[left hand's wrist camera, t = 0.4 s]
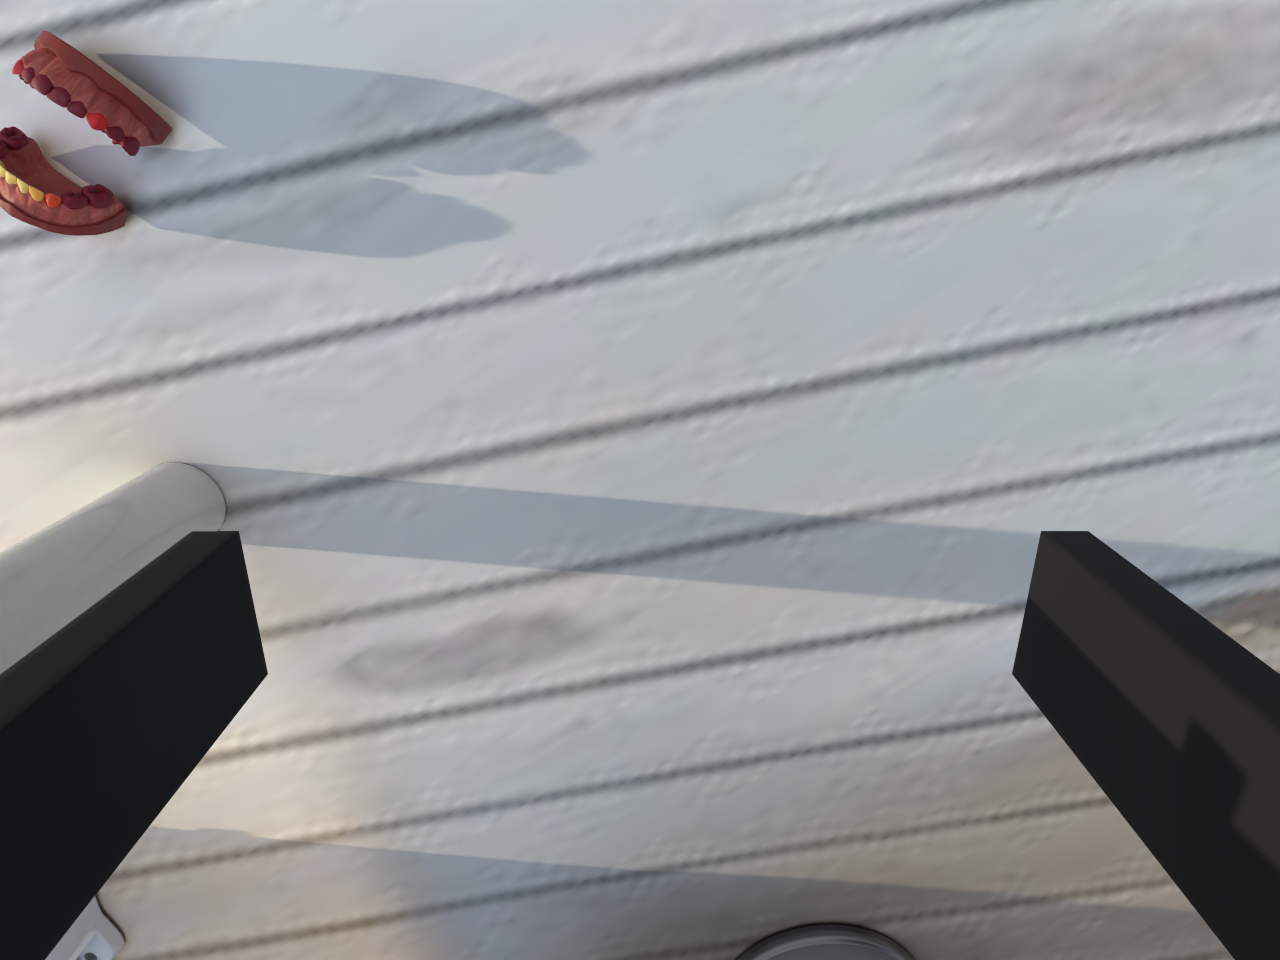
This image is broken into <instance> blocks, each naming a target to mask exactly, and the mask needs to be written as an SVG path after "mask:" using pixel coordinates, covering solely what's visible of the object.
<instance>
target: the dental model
mask: <svg viewBox="0 0 1280 960" xmlns="http://www.w3.org/2000/svg"><path fill="white" fill-rule="evenodd" d="M34 46H35V50H32V51H30V52H28V53H27V54H26V55H25V56H23V57H21V59H20V60H18V61H17V62H16V64H15V65H14V68H13V71H12V73H13V74H19V77H20V79H21V80H24V82H25V83H26V84H30V86H31V87H32V88H34V89H36V90H37V91H38V92H40V93H41V94H43V95H47V94H48V95H47V98H49V99H50V100H52V101H53V102H55V103H56V104H58V105H60V106H62V107H67V110H68V111H69V112H71V113H72V114H74V115H76V116H78V117H80V118H84V117H85V116H86V119H87V121H88V123H89V125H90V126H91V128H93V129H95V130H101V131H102V132H104V133H106V134H107V135H108V137H109V138H111V139H112V143H113V144H119V145H121V147H122V148H123V149H124V150H125V151H126V152H127V153H128V154H129V155H131V156H134V155H136V154H137V152H138V150H139V146H149V145H160V144H162V142H163V141H164V140H165V138H166V137H167V136H168V135H169V133H170V132H171V131H172V128H171V127H170V126H169V125H168V124H167V123H166V122H165V121H164V120H163V119H162V118H161V117H160V116H159V115H158V114H157V113H156V112H154V111H153V110H152V109H151V108H150V107H149V106H148V105H147V104H145V103H144V102H143V101H142V100H141V99H140V98H139V97H137V96H136V95H135V94H134V93H132V92H131V91H130V90H129V89H128V88H126V87H125V86H124V85H123V84H121V83H120V82H119V81H118V80H116V79H115V78H114V77H112V76H111V75H110V74H108V73H107V72H106V71H104V70H103V69H102V68H101V67H99V66H98V65H97V64H95V63H94V62H93V61H91V60H90V59H89V58H87V57H86V56H84V55H83V54H82V53H80V52H79V51H77V50H76V49H75V48H73V47H72V46H70V45H69V44H67V43H66V42H64V41H63V40H61V39H59V38H58V37H56V36H55V35H53V34H51V33H50V32H47V31H43V32H42V33H41V34H40V35H39V37H38V38H37V39H36V41H35V44H34ZM69 103H70V104H69ZM68 104H69V105H68ZM86 114H87V115H86ZM0 206H1V207H2V208H3V209H4V210H5V211H6V212H7V213H8V214H9V215H11V216H13V217H15V218H17V219H19V220H21V221H23V222H26V223H28V224H31V225H34V226H37V227H39V228H42V229H44V230H47V231H50V232H55V233H60V234H66V235H98V234H102V233H107V232H110V231H114V230H116V229H119V228H121V227H123V226H125V221H126V216H127V209H126V208H125V206H124V204H123V203H122V202H121V201H120V200H118V199H117V198H116V197H115V196H114V195H113V193H112V192H111V191H110V190H109V189H107V188H105V187H104V186H102V185H99V184H97V185H94V186H92V185H89V186H85V187H83V188H81V187H79V186H78V185H76V184H74V183H73V182H71V181H70V180H69V179H67V178H66V177H64V176H63V175H62V174H60V173H59V172H58V171H56V170H55V169H54V168H53V167H52V166H51V165H50V164H49V163H48V162H47V160H46V159H45V157H44V156H43V154H42V153H41V151H40V149H39V147H38V145H37V143H36V142H35V140H33V139H32V138H29V137H27V136H26V135H25V134H24V133H23V132H22V131H21V130H19V129H18V128H16V127H10V128H3V129H2V130H1V131H0Z"/></svg>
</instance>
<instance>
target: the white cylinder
mask: <svg viewBox="0 0 1280 960" xmlns="http://www.w3.org/2000/svg"><path fill="white" fill-rule="evenodd" d="M225 514H226V505H225V500H224V497H223V494H222V492H221V490H220V488H219V487H218V486H217V484H216V483H215V482H214V481H213V479H212V478H210V477H209V476H208V475H207V474H206V473H204V472H203V471H201V470H199V469H198V468H195V467H193V466H191V465H187V464H183V463H164V464H161V465H158V466H156V467H154V468H152V469H150V470H148V471H146V472H145V473H143V474H141V475H139V476H137V477H136V478H134V479H132V480H130V481H128V482H127V483H125V484H123V485H121V486H120V487H118V488H116V489H114V490H112V491H111V492H109V493H107V494H105V495H103V496H102V497H100V498H98V499H96V500H94V501H93V502H91V503H89V504H87V505H85V506H84V507H82V508H80V509H78V510H76V511H75V512H73V513H71V514H69V515H67V516H66V517H64V518H62V519H60V520H58V521H57V522H55V523H53V524H51V525H49V526H48V527H46V528H44V529H42V530H41V531H39V532H37V533H35V534H33V535H32V536H30V537H28V538H26V539H24V540H23V541H21V542H19V543H17V544H15V545H14V546H12V547H10V548H8V549H6V550H5V551H3V552H1V553H0V674H1V673H3V672H4V671H5V670H7V669H8V668H9V667H11V666H12V665H13V664H15V663H16V662H17V661H19V660H20V659H22V658H23V657H24V656H26V655H27V654H28V653H30V652H31V651H32V650H34V649H35V648H36V647H38V646H39V645H40V644H42V643H43V642H44V641H46V640H47V639H48V638H50V637H51V636H52V635H54V634H55V633H56V632H58V631H59V630H60V629H62V628H63V627H64V626H66V625H67V624H68V623H70V622H71V621H72V620H74V619H75V618H76V617H78V616H79V615H80V614H82V613H83V612H84V611H86V610H87V609H88V608H90V607H91V606H92V605H94V604H95V603H96V602H98V601H99V600H101V599H102V598H103V597H105V596H106V595H107V594H109V593H110V592H111V591H113V590H114V589H115V588H117V587H118V586H119V585H121V584H122V583H123V582H125V581H126V580H127V579H129V578H130V577H131V576H133V575H134V574H135V573H137V572H138V571H139V570H141V569H142V568H143V567H145V566H146V565H147V564H149V563H150V562H151V561H153V560H154V559H155V558H157V557H158V556H159V555H161V554H162V553H163V552H165V551H166V550H167V549H169V548H170V547H171V546H173V545H174V544H175V543H177V542H178V541H179V540H181V539H182V538H184V537H185V536H186V535H188V534H189V533H190V532H192V531H218V530H219V529H220V527H221V526H222V524H223V522H224V519H225Z"/></svg>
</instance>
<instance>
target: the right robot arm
mask: <svg viewBox="0 0 1280 960" xmlns="http://www.w3.org/2000/svg"><path fill="white" fill-rule="evenodd" d="M123 945H124V939H123V937H122V935H121V933H120V932H119V931H118V930H117V928H116V927H115V926H114V925H113V924H112V923H111V922H110V921H109V920H108V919H107V918H106V917H105V916H104V914H103V913H102V911H101V910H100V907H99V905H98V903H97V900H96V897H95V896H94V898H93V899H92V900H91V901H90V903H89V904H88V905H87V907H86V908H85V909H84V910H83V912H82V913H81V914H80V915H79V917H78V918H77V919H76V921H75V922H74V923H73V924H72V926H71V927H70V928H69V930H68V931H67V932H66V933H65V935H64V936H63V937H62V939H61V940H60V941H59V942H58V944H57V945H56V946H55V948H54V949H53V950H52V951H51V953H50V954H49V955H48V957H47V958H46V959H45V960H112V959H113V958H114V957H115V955H116V954H117V953H118V952H119V951H120V949H121V948H122V947H123Z"/></svg>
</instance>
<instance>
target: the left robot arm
mask: <svg viewBox="0 0 1280 960" xmlns="http://www.w3.org/2000/svg"><path fill="white" fill-rule="evenodd" d="M267 674H268V672H267V667H266V663H265V658H264V653H263V648H262V643H261V638H260V633H259V628H258V623H257V618H256V613H255V608H254V604H253V599H252V594H251V589H250V584H249V579H248V574H247V569H246V564H245V559H244V554H243V550H242V545H241V540H240V535H239V531H192V532H190V533H189V534H188V535H186V536H185V537H184V538H182V539H181V540H179V541H178V542H177V543H175V544H174V545H173V546H171V547H170V548H169V549H167V550H166V551H165V552H163V553H162V554H161V555H159V556H158V557H157V558H155V559H154V560H153V561H151V562H150V563H149V564H147V565H146V566H145V567H143V568H142V569H141V570H139V571H138V572H137V573H135V574H134V575H133V576H131V577H130V578H129V579H127V580H126V581H125V582H123V583H122V584H121V585H119V586H118V587H117V588H115V589H114V590H113V591H111V592H110V593H109V594H107V595H106V596H105V597H103V598H102V599H101V600H99V601H98V602H96V603H95V604H94V605H92V606H91V607H90V608H88V609H87V610H86V611H84V612H83V613H82V614H80V615H79V616H78V617H76V618H75V619H74V620H72V621H71V622H70V623H68V624H67V625H66V626H64V627H63V628H62V629H60V630H59V631H58V632H56V633H55V634H54V635H52V636H51V637H50V638H48V639H47V640H46V641H44V642H43V643H42V644H40V645H39V646H38V647H36V648H35V649H34V650H32V651H31V652H30V653H28V654H27V655H26V656H24V657H23V658H22V659H20V660H19V661H17V662H16V663H15V664H13V665H12V666H11V667H9V668H8V669H7V670H5V671H4V672H3V673H1V674H0V960H45V959H46V958H47V957H48V955H49V954H50V953H51V951H52V950H53V949H54V948H55V946H56V945H57V944H58V942H59V941H60V940H61V939H62V937H63V936H64V935H65V933H66V932H67V931H68V930H69V928H70V927H71V926H72V924H73V923H74V922H75V921H76V919H77V918H78V917H79V915H80V914H81V913H82V912H83V910H84V909H85V908H86V907H87V905H88V904H89V903H90V901H91V900H92V899H93V898H94V896H95V895H96V894H97V892H98V891H99V890H100V889H101V887H102V886H103V885H104V883H105V882H106V881H107V880H108V878H109V877H110V876H111V874H112V873H113V872H114V871H115V869H116V868H117V867H118V865H119V864H120V863H121V862H122V860H123V859H124V858H125V856H126V855H127V854H128V853H129V851H130V850H131V849H132V848H133V846H134V845H135V844H136V842H137V841H138V840H139V839H140V837H141V836H142V835H143V833H144V832H145V831H146V830H147V828H148V827H149V826H150V824H151V823H152V822H153V821H154V819H155V818H156V817H157V815H158V814H159V813H160V812H161V810H162V809H163V808H164V806H165V805H166V804H167V803H168V801H169V800H170V799H171V797H172V796H173V795H174V794H175V792H176V791H177V790H178V789H179V787H180V786H181V785H182V783H183V782H184V781H185V780H186V778H187V777H188V776H189V774H190V773H191V772H192V771H193V769H194V768H195V767H196V765H197V764H198V763H199V762H200V760H201V759H202V758H203V756H204V755H205V754H206V753H207V751H208V750H209V749H210V747H211V746H212V745H213V744H214V742H215V741H216V740H217V738H218V737H219V736H220V735H221V733H222V732H223V731H224V730H225V728H226V727H227V726H228V724H229V723H230V722H231V721H232V719H233V718H234V717H235V715H236V714H237V713H238V712H239V710H240V709H241V708H242V706H243V705H244V704H245V703H246V701H247V700H248V699H249V697H250V696H251V695H252V694H253V692H254V691H255V690H256V688H257V687H258V686H259V685H260V683H261V682H262V681H263V679H264V678H265V677H266V676H267ZM1012 674H1013V676H1014V677H1015V678H1016V679H1017V681H1018V682H1019V683H1020V685H1021V686H1022V687H1023V688H1024V690H1025V691H1026V692H1027V694H1028V695H1029V696H1030V697H1031V699H1032V700H1033V701H1034V703H1035V704H1036V705H1037V706H1038V708H1039V709H1040V710H1041V712H1042V713H1043V714H1044V715H1045V717H1046V718H1047V719H1048V721H1049V722H1050V723H1051V724H1052V726H1053V727H1054V728H1055V730H1056V731H1057V732H1058V733H1059V735H1060V736H1061V737H1062V738H1063V740H1064V741H1065V742H1066V744H1067V745H1068V746H1069V747H1070V749H1071V750H1072V751H1073V753H1074V754H1075V755H1076V756H1077V758H1078V759H1079V760H1080V762H1081V763H1082V764H1083V765H1084V767H1085V768H1086V769H1087V771H1088V772H1089V773H1090V774H1091V776H1092V777H1093V778H1094V780H1095V781H1096V782H1097V783H1098V785H1099V786H1100V787H1101V789H1102V790H1103V791H1104V792H1105V794H1106V795H1107V796H1108V797H1109V799H1110V800H1111V801H1112V803H1113V804H1114V805H1115V806H1116V808H1117V809H1118V810H1119V812H1120V813H1121V814H1122V815H1123V817H1124V818H1125V819H1126V821H1127V822H1128V823H1129V824H1130V826H1131V827H1132V828H1133V830H1134V831H1135V832H1136V833H1137V835H1138V836H1139V837H1140V839H1141V840H1142V841H1143V842H1144V844H1145V845H1146V846H1147V848H1148V849H1149V850H1150V851H1151V853H1152V854H1153V855H1154V856H1155V858H1156V859H1157V860H1158V862H1159V863H1160V864H1161V865H1162V867H1163V868H1164V869H1165V871H1166V872H1167V873H1168V874H1169V876H1170V877H1171V878H1172V880H1173V881H1174V882H1175V883H1176V885H1177V886H1178V887H1179V889H1180V890H1181V891H1182V892H1183V894H1184V895H1185V896H1186V898H1187V899H1188V900H1189V901H1190V903H1191V904H1192V905H1193V907H1194V908H1195V909H1196V910H1197V912H1198V913H1199V914H1200V915H1201V917H1202V918H1203V919H1204V921H1205V922H1206V923H1207V924H1208V926H1209V927H1210V928H1211V930H1212V931H1213V932H1214V933H1215V935H1216V936H1217V937H1218V939H1219V940H1220V941H1221V942H1222V944H1223V945H1224V946H1225V948H1226V949H1227V950H1228V951H1229V953H1230V954H1231V955H1232V957H1233V958H1234V959H1235V960H1280V674H1279V673H1277V672H1276V671H1275V670H1273V669H1272V668H1271V667H1269V666H1268V665H1267V664H1265V663H1264V662H1263V661H1261V660H1260V659H1258V658H1257V657H1256V656H1254V655H1253V654H1252V653H1250V652H1249V651H1248V650H1246V649H1245V648H1244V647H1242V646H1241V645H1240V644H1238V643H1237V642H1236V641H1234V640H1233V639H1232V638H1230V637H1229V636H1228V635H1226V634H1225V633H1224V632H1222V631H1221V630H1220V629H1218V628H1217V627H1216V626H1214V625H1213V624H1212V623H1210V622H1209V621H1208V620H1206V619H1205V618H1204V617H1202V616H1201V615H1200V614H1198V613H1197V612H1196V611H1194V610H1193V609H1192V608H1190V607H1189V606H1188V605H1186V604H1185V603H1184V602H1182V601H1181V600H1179V599H1178V598H1177V597H1175V596H1174V595H1173V594H1171V593H1170V592H1169V591H1167V590H1166V589H1165V588H1163V587H1162V586H1161V585H1159V584H1158V583H1157V582H1155V581H1154V580H1153V579H1151V578H1150V577H1149V576H1147V575H1146V574H1145V573H1143V572H1142V571H1141V570H1139V569H1138V568H1137V567H1135V566H1134V565H1133V564H1131V563H1130V562H1129V561H1127V560H1126V559H1125V558H1123V557H1122V556H1121V555H1119V554H1118V553H1117V552H1115V551H1114V550H1113V549H1111V548H1110V547H1109V546H1107V545H1106V544H1105V543H1103V542H1102V541H1101V540H1099V539H1098V538H1096V537H1095V536H1094V535H1092V534H1091V533H1090V532H1088V531H1041V535H1040V540H1039V545H1038V550H1037V554H1036V559H1035V564H1034V569H1033V574H1032V579H1031V584H1030V589H1029V594H1028V599H1027V604H1026V608H1025V613H1024V618H1023V623H1022V628H1021V633H1020V638H1019V643H1018V648H1017V653H1016V658H1015V663H1014V667H1013V672H1012ZM737 960H914V959H913V958H912V957H911V956H910V954H909V953H908V952H907V951H906V950H904V949H903V948H902V947H901V946H899V945H898V944H897V943H895V942H894V941H892V940H890V939H889V938H887V937H884V936H882V935H880V934H878V933H875V932H872V931H869V930H865V929H862V928H857V927H851V926H843V925H816V926H807V927H802V928H797V929H793V930H789V931H786V932H783V933H780V934H777V935H774V936H772V937H770V938H767V939H766V940H764V941H762V942H760V943H758V944H756V945H755V946H753V947H752V948H750V949H749V950H748V951H746V952H745V953H744V954H743V955H741V956H740V957H739V958H738V959H737Z"/></svg>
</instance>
